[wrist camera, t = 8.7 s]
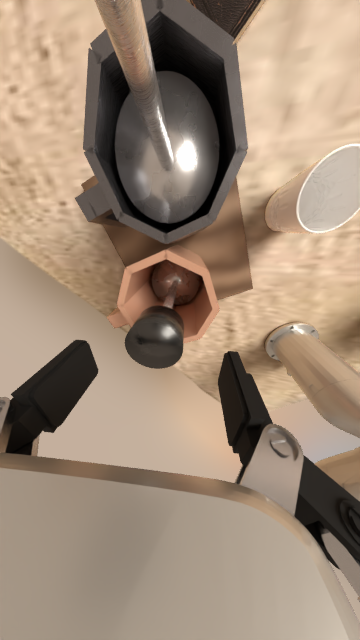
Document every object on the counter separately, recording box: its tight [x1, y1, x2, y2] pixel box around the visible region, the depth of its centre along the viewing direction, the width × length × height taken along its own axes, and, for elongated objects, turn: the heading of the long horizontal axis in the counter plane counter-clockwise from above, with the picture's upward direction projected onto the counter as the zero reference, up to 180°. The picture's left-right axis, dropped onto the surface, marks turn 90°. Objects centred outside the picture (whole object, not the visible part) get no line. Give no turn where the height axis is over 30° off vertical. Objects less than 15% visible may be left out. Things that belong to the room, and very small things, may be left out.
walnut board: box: [81, 176, 253, 300], centre depth 28 cm, size 28×24×2 cm
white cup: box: [265, 144, 360, 234], centre depth 21 cm, size 8×8×10 cm
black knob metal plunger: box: [125, 259, 199, 368], centre depth 19 cm, size 9×9×19 cm
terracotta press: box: [107, 245, 219, 343], centre depth 24 cm, size 12×15×16 cm
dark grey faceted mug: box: [75, 0, 248, 244], centre depth 18 cm, size 12×15×16 cm
